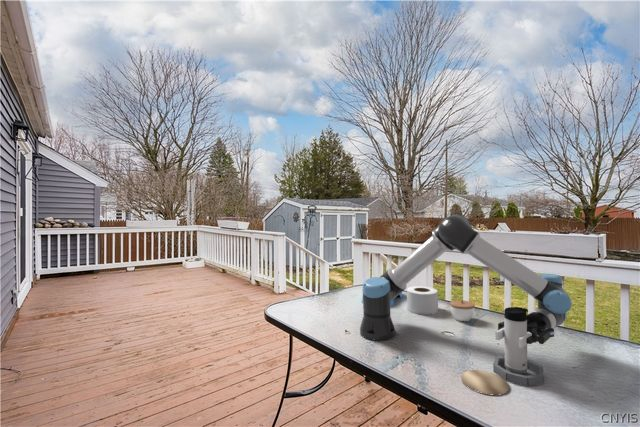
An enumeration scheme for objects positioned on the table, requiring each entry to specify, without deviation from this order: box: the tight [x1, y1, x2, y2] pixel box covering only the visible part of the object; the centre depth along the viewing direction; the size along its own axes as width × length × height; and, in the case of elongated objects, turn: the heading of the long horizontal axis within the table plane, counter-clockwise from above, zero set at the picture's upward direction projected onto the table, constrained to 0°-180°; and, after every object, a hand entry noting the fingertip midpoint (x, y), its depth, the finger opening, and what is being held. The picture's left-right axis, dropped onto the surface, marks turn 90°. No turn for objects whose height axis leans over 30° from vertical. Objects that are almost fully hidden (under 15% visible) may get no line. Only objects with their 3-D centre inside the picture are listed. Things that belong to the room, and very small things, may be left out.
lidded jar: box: [449, 299, 475, 322], centre depth 150 cm, size 11×11×9 cm
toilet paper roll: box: [406, 285, 439, 316], centre depth 166 cm, size 16×15×11 cm
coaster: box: [460, 369, 510, 396], centre depth 97 cm, size 13×13×1 cm
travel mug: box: [503, 306, 529, 375], centre depth 102 cm, size 6×7×20 cm
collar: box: [492, 355, 545, 387], centre depth 102 cm, size 14×14×2 cm
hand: (508, 339), depth 99 cm, fingers closed on travel mug, 6 cm apart
